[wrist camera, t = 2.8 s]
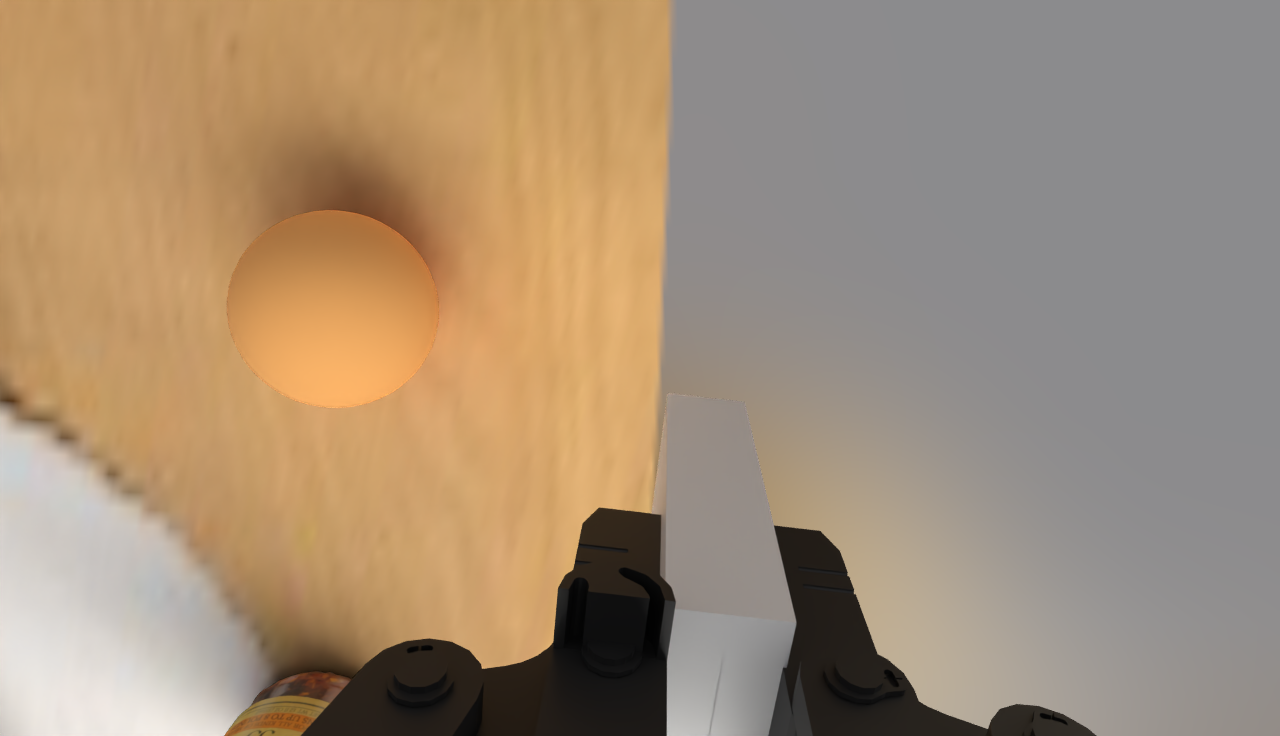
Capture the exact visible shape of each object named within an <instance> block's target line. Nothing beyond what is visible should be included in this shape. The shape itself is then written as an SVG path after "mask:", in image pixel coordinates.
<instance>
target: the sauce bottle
mask: <svg viewBox="0 0 1280 736" xmlns="http://www.w3.org/2000/svg"><path fill="white" fill-rule="evenodd" d="M351 680H352V679H350V678H348V677H344V676H341V675H336V674H334V673H332V672H328V673H323V672H320V671H312V672H308V673H300V674H297V675H293V676H290V677H287V678H285V679H283V680H279V681H278V682H277V683H275V684H273V685H271V686H270V687H268V688H266V689H264V690H263V691H261V692H260V693H259V695H258V696H257V697H256V698H255V700H254V701H253V704H252V705H251V706H250V707H249V708H248V709H246V710H245V711H244V712H243V713H242V714H241V715H239V716H238V718H237V719H236V720H235V722H234V723H233V724H232V726H231V727H230V728H229V730H228V731H227V733H226V734H225V735H224V736H301V735H302V733H303V732H304V731H305V730H306V729H307V728H308V727H309V726H310V725H311V724H312V723H313V721H314V720H315V719H316V718H317V717H318V716H319V715H320V714H321V713H322V712H323V710H324V709H325V708H326V707H327V706H328V705H329V704H330V703H331V702H332V701H333V699H334V698H335V697H336V696H337V695H338V694H339V693H340V692H341V691H342V690H343V688H344V687H345V686H346V685H347V684H348V683H349V682H350V681H351Z"/></svg>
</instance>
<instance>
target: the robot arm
mask: <svg viewBox="0 0 1280 736" xmlns="http://www.w3.org/2000/svg"><path fill="white" fill-rule="evenodd" d="M847 573H848V572H847V569H846V567H845V564H844V561H843V558H842V556H841V553H840V551H839V550H838V549H837V548H836V547H835V546H834V545H833V544H832V543H831V542H830V541H829V539H828V538H826V536H824V534H822V532H821V531H815V530H807V529H798V528H789V527H782V526H774V525H773V521H772V516H771V512H770V508H769V503H768V499H767V495H766V491H765V486H764V483H763V478H762V474H761V470H760V465H759V461H758V457H757V453H756V448H755V444H754V440H753V436H752V431H751V427H750V423H749V418H748V414H747V410H746V406H745V402H742V401H733V400H724V399H716V398H707V397H699V396H689V395H682V394H673V393H668V394H667V401H666V409H665V416H664V424H663V432H662V439H661V447H660V454H659V462H658V469H657V477H656V484H655V492H654V500H653V507H652V514H650V513H641V512H633V511H624V510H616V509H607V508H598V509H597V510H596V511H595V512H594V513H593V514H592V515H591V516H590V517H589V518H588V519H587V520H586V521H585V522H584V523H583V525H582V529H581V534H580V539H579V545H578V549H577V554H576V559H575V564H574V569H573V570H572V571H571V572H569V573H568V574H566V575H565V577H564V579H563V580H562V582H561V584H560V586H559V587H558V596H557V607H556V619H555V630H554V641H553V643H552V645H551V646H550V647H549V648H548V649H546V650H545V651H543V652H542V653H541V654H539V655H538V656H536V657H533V658H531V659H529V660H526V661H524V662H521V663H517V664H512V665H508V666H502V667H494V668H487V669H482V668H481V664H480V663H479V661H478V660H477V659H476V658H475V657H474V655H473V654H472V653H471V652H470V651H469V650H467V649H465V648H463V647H461V646H459V645H457V644H455V643H453V642H449V641H442V640H436V639H421V640H413V641H405V642H403V643H400V644H398V645H395V646H393V647H390V648H387V649H385V650H383V651H382V652H380V653H379V654H378V655H377V656H375V657H374V658H373V659H371V660H370V661H369V662H368V663H366V664H365V665H364V666H363V668H362V669H361V670H360V671H359V672H358V673H357V674H356V675H355V676H354V677H353V679H352V680H351V681H350V682H349V683H348V684H347V685H346V686H345V687H344V688H343V690H342V691H341V692H340V693H339V694H338V695H337V696H336V697H335V698H334V699H333V701H332V702H331V703H330V704H329V705H328V706H327V707H326V708H325V709H324V710H323V712H322V713H321V714H320V715H319V716H318V717H317V718H316V719H315V720H314V721H313V723H312V724H311V725H310V726H309V727H308V728H307V729H306V730H305V731H304V732H303V733H302V735H301V736H1096V735H1095V734H1094V733H1092V732H1091V731H1090V730H1089V729H1088V728H1086V727H1084V726H1083V725H1081V724H1079V723H1077V722H1076V721H1074V720H1072V719H1070V718H1069V717H1067V716H1065V715H1063V714H1060V713H1058V712H1054V711H1052V710H1048V709H1045V708H1043V707H1040V706H1031V705H1020V704H1016V705H1012V706H1009V707H1005V708H1002V709H1000V710H999V711H998V712H997V713H996V715H995V716H994V717H993V718H992V720H991V722H990V725H989V728H988V729H986V728H983V727H980V726H977V725H974V724H971V723H969V722H966V721H963V720H960V719H957V718H954V717H951V716H949V715H946V714H943V713H941V712H939V711H937V710H934V709H932V708H929V707H927V706H926V705H924V704H922V703H921V702H919V701H918V698H917V696H916V693H915V691H914V689H913V687H912V685H911V684H910V682H909V681H908V680H907V678H906V676H905V675H904V673H903V672H902V671H901V670H899V669H898V668H897V667H896V666H895V665H893V664H892V663H891V662H890V661H889V660H887V659H886V658H884V657H882V656H880V655H878V654H877V651H876V649H875V646H874V643H873V641H872V638H871V635H870V632H869V630H868V627H867V624H866V621H865V619H864V616H863V613H862V611H861V608H860V605H859V602H858V600H857V597H856V595H855V594H854V588H853V586H852V583H851V580H850V578H849V576H847Z"/></svg>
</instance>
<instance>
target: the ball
mask: <svg viewBox="0 0 1280 736" xmlns="http://www.w3.org/2000/svg"><path fill="white" fill-rule="evenodd" d="M227 317H228V324H229V328H230V332H231V335H232V338H233V340H234V343H235V345H236V347H237V349H238V351H239V353H240V355H241V356H242V358H243V359H244V361H245V362H246V364H247V365H248V366H249V368H250V369H251V370H252V371H253V372H254V373H255V374H256V375H257V376H258V377H259V378H260V379H261V380H262V381H263V382H265V383H266V384H267V385H268V386H270V387H271V388H273V389H274V390H275V391H277V392H279V393H281V394H283V395H284V396H286V397H288V398H291V399H293V400H296V401H298V402H302V403H305V404H308V405H314V406H320V407H329V408H343V407H352V406H358V405H363V404H367V403H370V402H373V401H376V400H378V399H380V398H382V397H384V396H386V395H388V394H390V393H392V392H394V391H395V390H397V389H398V388H399V387H401V386H402V385H403V384H405V383H406V382H407V381H408V380H409V379H410V378H411V377H412V376H413V375H414V374H415V373H416V372H417V371H418V369H419V368H420V367H421V365H422V364H423V362H424V361H425V359H426V357H427V356H428V354H429V352H430V350H431V348H432V345H433V342H434V340H435V336H436V331H437V327H438V319H439V303H438V297H437V291H436V287H435V284H434V281H433V278H432V275H431V273H430V271H429V269H428V267H427V265H426V263H425V262H424V260H423V259H422V257H421V256H420V254H419V253H418V252H417V250H416V249H415V248H414V247H413V246H412V245H411V244H410V243H409V242H408V241H407V240H406V239H405V238H404V237H403V236H401V235H400V234H399V233H398V232H396V231H395V230H393V229H392V228H390V227H389V226H387V225H385V224H384V223H382V222H380V221H377V220H375V219H373V218H371V217H368V216H365V215H361V214H358V213H353V212H347V211H339V210H321V211H312V212H307V213H303V214H299V215H295V216H293V217H290V218H287V219H285V220H283V221H281V222H279V223H277V224H276V225H274V226H272V227H270V228H269V229H267V230H266V231H265V232H264V233H262V234H261V235H260V236H259V237H258V238H257V239H256V240H255V241H254V242H253V243H252V244H251V245H250V246H249V247H248V248H247V249H246V251H245V252H244V254H243V255H242V257H241V258H240V260H239V262H238V264H237V266H236V268H235V270H234V272H233V274H232V277H231V281H230V284H229V290H228V297H227Z"/></svg>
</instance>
